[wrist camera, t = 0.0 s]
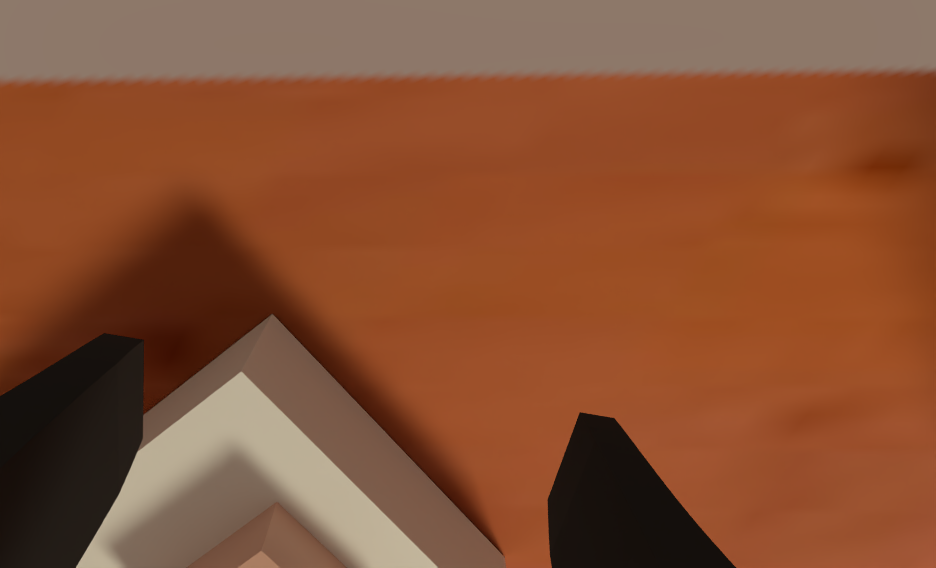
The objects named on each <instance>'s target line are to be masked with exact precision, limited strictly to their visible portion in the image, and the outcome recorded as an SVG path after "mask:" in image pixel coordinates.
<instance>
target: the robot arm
mask: <svg viewBox="0 0 936 568" xmlns="http://www.w3.org/2000/svg"><path fill="white" fill-rule="evenodd" d="M143 376H144V340H141V339H135V338H129V337H123V336H117V335H111V334H105V333H104V334H102V335H101V336H99V337H97V338H95V339H94V340H92V341H90V342H89V343H87V344H85V345H84V346H82V347H81V348H79V349H77V350H76V351H74V352H72V353H71V354H69V355H68V356H66V357H64V358H63V359H61V360H59V361H58V362H56V363H55V364H53V365H51V366H50V367H48V368H47V369H45V370H43V371H42V372H40V373H38V374H37V375H35V376H33V377H32V378H30V379H28V380H27V381H25V382H23V383H22V384H20V385H18V386H17V387H15V388H13V389H12V390H10V391H8V392H7V393H5V394H3V395H2V396H0V568H76V567H77V565H78V563H79V562H80V560H81V558H82V557H83V555H84V553H85V552H86V550H87V548H88V547H89V545H90V543H91V542H92V540H93V538H94V536H95V535H96V533H97V531H98V530H99V528H100V526H101V525H102V523H103V521H104V519H105V518H106V516H107V514H108V513H109V511H110V509H111V507H112V506H113V504H114V502H115V500H116V499H117V497H118V495H119V493H120V491H121V489H122V486H123V484H124V482H125V480H126V477H127V475H128V473H129V471H130V468H131V466H132V464H133V461H134V459H135V456H136V454H137V452H138V449H139V447H140V444H141V442H142V440H143ZM548 523H549V544H550V558H551V564H552V568H736V567H735V566H734V565H733V564H732V563H731V562H730V561H729V560H728V558H727V557H726V556H725V555H724V554H723V553H722V552H721V551H720V549H719V548H718V547H717V546H716V545H715V544H714V543H713V542H712V540H711V539H710V538H709V537H708V536H707V535H706V534H705V533H704V531H703V530H702V529H701V528H700V527H699V526H698V524H697V523H696V522H695V521H694V520H693V518H692V517H691V516H690V515H689V514H688V512H687V511H686V510H685V509H684V508H683V506H682V505H681V504H680V503H679V501H678V500H677V499H676V498H675V496H674V495H673V494H672V493H671V491H670V490H669V489H668V488H667V486H666V485H665V484H664V482H663V481H662V480H661V479H660V477H659V476H658V475H657V473H656V472H655V471H654V469H653V468H652V467H651V465H650V464H649V463H648V461H647V460H646V459H645V458H644V456H643V455H642V454H641V452H640V451H639V450H638V448H637V447H636V446H635V444H634V443H633V442H632V440H631V439H630V438H629V436H628V435H627V434H626V432H625V431H624V430H623V429H622V427H621V426H620V425H619V423H618V422H617V421H616V420H615V419H614V418H610V417H604V416H598V415H592V414H586V413H580V414H579V416H578V419H577V422H576V424H575V427H574V430H573V433H572V435H571V438H570V441H569V443H568V446H567V449H566V452H565V454H564V457H563V460H562V462H561V465H560V468H559V471H558V473H557V476H556V479H555V481H554V484H553V487H552V490H551V492H550V495H549V498H548Z"/></svg>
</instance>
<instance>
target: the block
mask: <svg viewBox="0 0 936 568" xmlns="http://www.w3.org/2000/svg"><path fill="white" fill-rule="evenodd" d="M186 568H347V567H346V566H345V565H344V564H343V563H342V562H341V561H339V560H338V559H337V558H336V557H335V556H334V555H333V554H332V553H331V552H330V551H329V550H328V549H327V548H326V547H325V546H324V545H322V544H321V543H320V542H319V541H318V540H317V539H316V538H315V537H314V536H313V535H312V534H311V533H310V532H309V531H308V530H307V529H305V528H304V527H303V526H302V525H301V524H300V523H299V522H298V521H297V520H296V519H295V518H294V517H293V516H292V515H291V514H290V513H288V512H287V511H286V510H285V509H284V508H283V507H282V506H281V505H280V504H279V503H278V502H276V503H274V504H273V505H272V506H270V507H269V508H268V509H266V510H265V511H263V512H262V513H261V514H259V515H258V516H257V517H255V518H254V519H252V520H251V521H250V522H248V523H247V524H246V525H244V526H243V527H241V528H240V529H239V530H237V531H236V532H235V533H233V534H232V535H230V536H229V537H228V538H226V539H225V540H224V541H222V542H221V543H219V544H218V545H217V546H215V547H214V548H213V549H211V550H210V551H208V552H207V553H206V554H204V555H203V556H202V557H200V558H199V559H197V560H196V561H195V562H193V563H192V564H191V565H189V566H188V567H186Z"/></svg>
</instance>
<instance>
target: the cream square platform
mask: <svg viewBox="0 0 936 568" xmlns="http://www.w3.org/2000/svg"><path fill="white" fill-rule="evenodd" d="M276 502H278V503H279V504H280V505H281V506H282V507H283V508H284V509H285V510H286V511H287V512H288V513H290V514H291V515H292V516H293V517H294V518H295V519H296V520H297V521H298V522H299V523H300V524H301V525H302V526H303V527H304V528H305V529H307V530H308V531H309V532H310V533H311V534H312V535H313V536H314V537H315V538H316V539H317V540H318V541H319V542H320V543H321V544H322V545H324V546H325V547H326V548H327V549H328V550H329V551H330V552H331V553H332V554H333V555H334V556H335V557H336V558H337V559H338V560H339V561H341V562H342V563H343V564H344V565H345V566H346V567H347V568H506V564H505V557H504V556H503V555H502V554H501V553H500V552H499V551H498V550H497V549H496V548H495V547H494V546H493V544H492V543H491V542H490V541H489V540H488V539H487V538H486V537H485V536H484V535H483V534H482V533H481V532H480V531H479V530H478V529H477V528H476V527H475V526H474V525H473V524H472V522H471V521H470V520H469V519H468V518H467V517H466V516H465V515H464V514H463V513H462V512H461V511H460V510H459V509H458V508H457V507H456V506H455V505H454V504H453V503H452V502H451V500H450V499H449V498H448V497H447V496H446V495H445V494H444V493H443V492H442V491H441V490H440V489H439V488H438V487H437V486H436V485H435V484H434V483H433V482H432V481H431V480H430V478H429V477H428V476H427V475H426V474H425V473H424V472H423V471H422V470H421V469H420V468H419V467H418V466H417V465H416V464H415V463H414V462H413V461H412V460H411V459H410V458H409V456H408V455H407V454H406V453H405V452H404V451H403V450H402V449H401V448H400V447H399V446H398V445H397V444H396V443H395V442H394V441H393V440H392V439H391V438H390V437H389V436H388V434H387V433H386V432H385V431H384V430H383V429H382V428H381V427H380V426H379V425H378V424H377V423H376V422H375V421H374V420H373V419H372V418H371V417H370V416H369V415H368V414H367V412H366V411H365V410H364V409H363V408H362V407H361V406H360V405H359V404H358V403H357V402H356V401H355V400H354V399H353V398H352V397H351V396H350V395H349V394H348V393H347V392H346V390H345V389H344V388H343V387H342V386H341V385H340V384H339V383H338V382H337V381H336V380H335V379H334V378H333V377H332V376H331V375H330V374H329V373H328V372H327V371H326V370H325V368H324V367H323V366H322V365H321V364H320V363H319V362H318V361H317V360H316V359H315V358H314V357H313V356H312V355H311V354H310V353H309V352H308V351H307V350H306V349H305V348H304V346H303V345H302V344H301V343H300V342H299V341H298V340H297V339H296V338H295V337H294V336H293V335H292V334H291V333H290V332H289V331H288V330H287V329H286V328H285V327H284V326H283V324H282V323H281V322H280V321H279V320H278V319H277V318H276V317H275V316H274V315H273V314H272V315H270V316H269V317H268V318H266V319H265V320H264V321H263V322H261V323H260V324H259V325H258V326H256V327H255V328H254V329H252V330H251V331H250V332H249V333H247V334H246V335H245V336H244V337H242V338H241V339H240V340H238V341H237V342H236V343H235V344H233V345H232V346H231V347H230V348H228V349H227V350H226V351H224V352H223V353H222V354H221V355H219V356H218V357H217V358H216V359H214V360H213V361H212V362H210V363H209V364H208V365H207V366H205V367H204V368H203V369H201V370H200V371H199V372H198V373H196V374H195V375H194V376H193V377H191V378H190V379H189V380H187V381H186V382H185V383H184V384H182V385H181V386H180V387H179V388H177V389H176V390H175V391H173V392H172V393H171V394H170V395H168V396H167V397H166V398H165V399H163V400H162V401H161V402H159V403H158V404H157V405H156V406H154V407H153V408H152V409H151V410H149V411H148V412H147V413H145V414H144V415H143V440H142V442H141V444H140V447H139V449H138V452H137V454H136V456H135V459H134V461H133V464H132V466H131V468H130V471H129V473H128V475H127V477H126V480H125V482H124V484H123V486H122V489H121V491H120V493H119V495H118V497H117V499H116V500H115V502H114V504H113V506H112V507H111V509H110V511H109V513H108V514H107V516H106V518H105V519H104V521H103V523H102V525H101V526H100V528H99V530H98V531H97V533H96V535H95V536H94V538H93V540H92V542H91V543H90V545H89V547H88V548H87V550H86V552H85V553H84V555H83V557H82V558H81V560H80V562H79V563H78V565H77V567H76V568H186V567H188V566H189V565H191V564H192V563H193V562H195V561H196V560H197V559H199V558H200V557H202V556H203V555H204V554H206V553H207V552H208V551H210V550H211V549H213V548H214V547H215V546H217V545H218V544H219V543H221V542H222V541H224V540H225V539H226V538H228V537H229V536H230V535H232V534H233V533H235V532H236V531H237V530H239V529H240V528H241V527H243V526H244V525H246V524H247V523H248V522H250V521H251V520H252V519H254V518H255V517H257V516H258V515H259V514H261V513H262V512H263V511H265V510H266V509H268V508H269V507H270V506H272V505H273V504H274V503H276Z"/></svg>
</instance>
